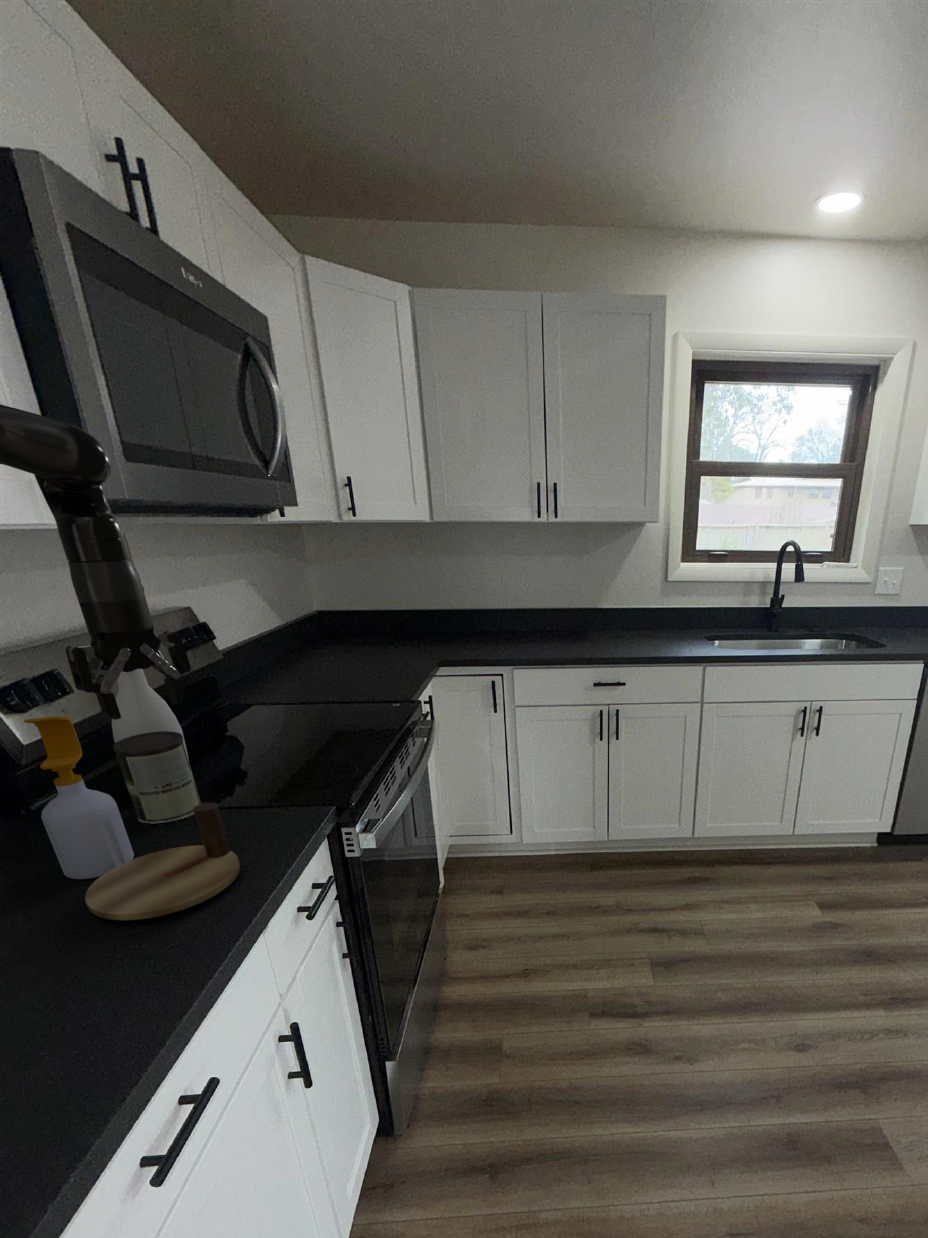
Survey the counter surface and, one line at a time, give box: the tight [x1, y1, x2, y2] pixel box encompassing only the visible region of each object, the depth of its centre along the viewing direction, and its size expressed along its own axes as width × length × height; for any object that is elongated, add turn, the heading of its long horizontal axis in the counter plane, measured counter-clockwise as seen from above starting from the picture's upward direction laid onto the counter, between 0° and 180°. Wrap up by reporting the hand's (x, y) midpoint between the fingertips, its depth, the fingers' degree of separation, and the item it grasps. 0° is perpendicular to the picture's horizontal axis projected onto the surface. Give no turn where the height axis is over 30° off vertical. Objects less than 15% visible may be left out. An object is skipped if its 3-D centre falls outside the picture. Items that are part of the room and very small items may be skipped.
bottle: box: [111, 669, 190, 762], centre depth 123 cm, size 11×11×25 cm
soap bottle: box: [23, 716, 135, 880], centre depth 95 cm, size 9×9×25 cm
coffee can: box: [112, 731, 202, 825], centre depth 115 cm, size 10×10×14 cm
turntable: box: [84, 801, 241, 921], centre depth 92 cm, size 19×19×9 cm
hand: (146, 710), depth 94 cm, fingers open, 8 cm apart
